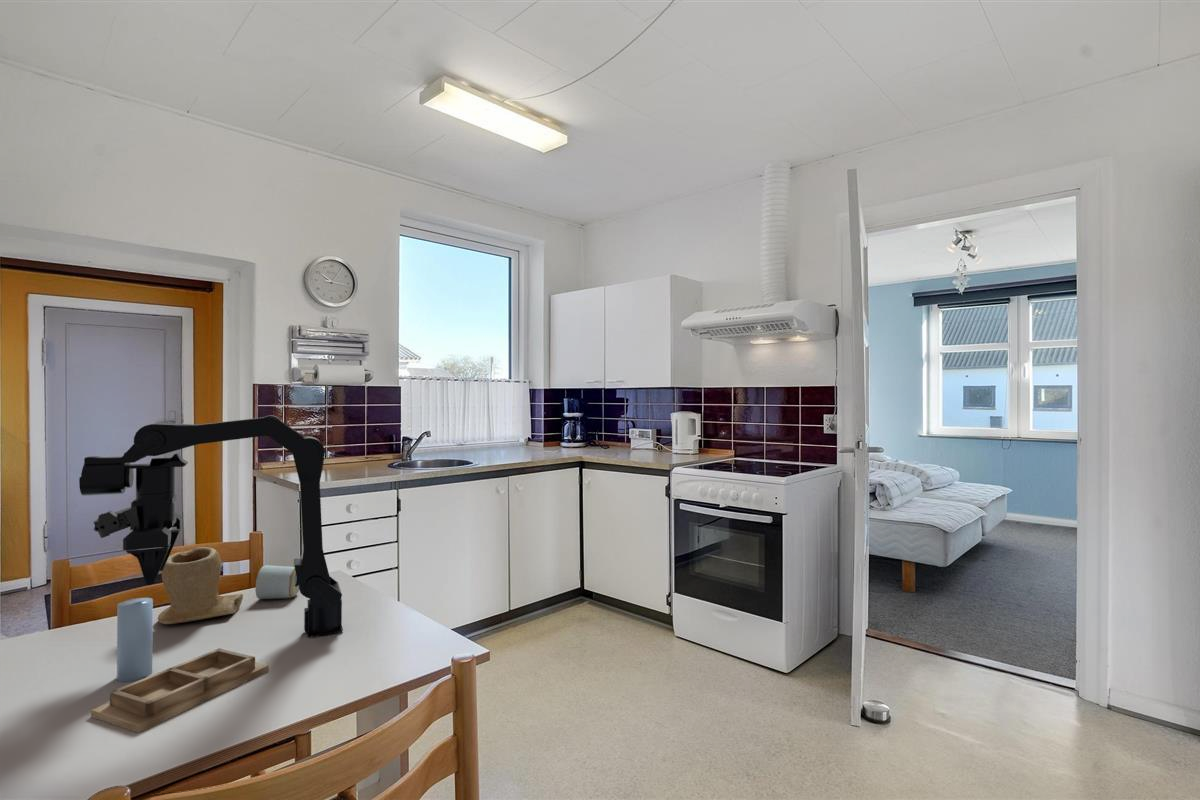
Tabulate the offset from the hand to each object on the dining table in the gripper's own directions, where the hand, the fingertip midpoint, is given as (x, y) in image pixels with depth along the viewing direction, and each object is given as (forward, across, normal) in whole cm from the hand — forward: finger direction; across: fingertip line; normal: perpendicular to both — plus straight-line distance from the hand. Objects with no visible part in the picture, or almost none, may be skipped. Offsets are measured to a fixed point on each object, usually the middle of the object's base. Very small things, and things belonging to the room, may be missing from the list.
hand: (154, 577), depth 109 cm
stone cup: (+15, -19, +5) cm, 25 cm away
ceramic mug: (+15, -28, +20) cm, 38 cm away
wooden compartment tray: (+15, +18, +7) cm, 24 cm away
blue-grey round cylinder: (+15, +7, -2) cm, 16 cm away
